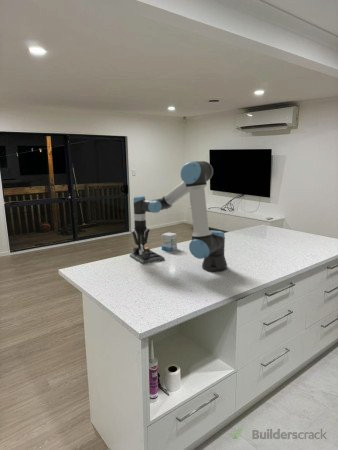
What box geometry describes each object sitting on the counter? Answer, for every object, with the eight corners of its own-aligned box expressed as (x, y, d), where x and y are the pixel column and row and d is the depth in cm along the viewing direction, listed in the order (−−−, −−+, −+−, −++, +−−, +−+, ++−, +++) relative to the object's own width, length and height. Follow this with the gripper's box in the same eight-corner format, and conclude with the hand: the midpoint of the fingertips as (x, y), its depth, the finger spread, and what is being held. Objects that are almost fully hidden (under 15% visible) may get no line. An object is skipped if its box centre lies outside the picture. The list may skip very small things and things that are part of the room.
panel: (164, 259, 211) (164, 250, 209) (143, 264, 203) (142, 254, 201) (150, 252, 227) (150, 243, 226) (130, 256, 219) (129, 247, 218)
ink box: (170, 251, 230) (170, 235, 227) (161, 249, 235) (160, 234, 232) (177, 248, 236) (177, 233, 234) (168, 246, 241) (167, 231, 239)
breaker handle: (149, 255, 214) (149, 248, 213) (145, 256, 213) (145, 248, 212) (147, 254, 217) (147, 247, 216) (143, 255, 215) (143, 247, 214)
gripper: (146, 217, 214) (147, 251, 219) (128, 220, 207) (130, 254, 212) (151, 219, 207) (152, 253, 212) (133, 221, 201) (135, 257, 206)
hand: (141, 254), depth 212 cm, fingers closed
